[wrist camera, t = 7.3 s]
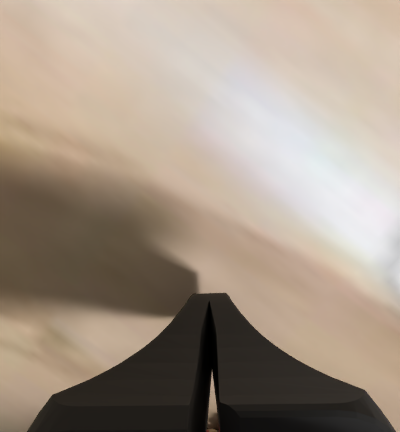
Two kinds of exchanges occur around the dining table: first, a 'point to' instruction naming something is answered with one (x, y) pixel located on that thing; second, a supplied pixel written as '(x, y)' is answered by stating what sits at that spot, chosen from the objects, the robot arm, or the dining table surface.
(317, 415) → the robot arm
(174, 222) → the dining table surface
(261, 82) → the dining table surface
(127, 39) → the dining table surface
